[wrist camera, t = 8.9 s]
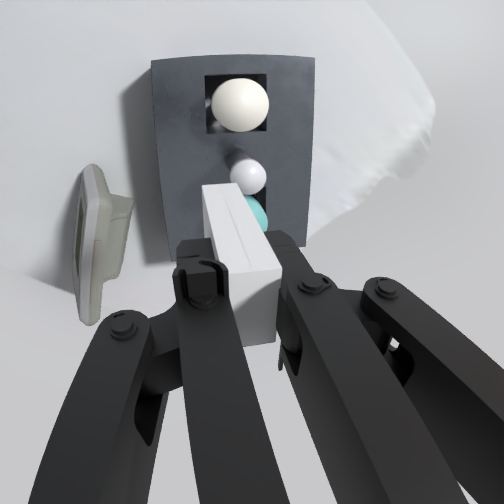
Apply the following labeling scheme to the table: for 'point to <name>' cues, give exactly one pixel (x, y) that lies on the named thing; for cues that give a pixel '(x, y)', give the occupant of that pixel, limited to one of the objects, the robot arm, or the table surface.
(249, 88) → the knob inner
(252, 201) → the knob outer
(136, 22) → the table surface
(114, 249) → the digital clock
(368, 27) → the table surface
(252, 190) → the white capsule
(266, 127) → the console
